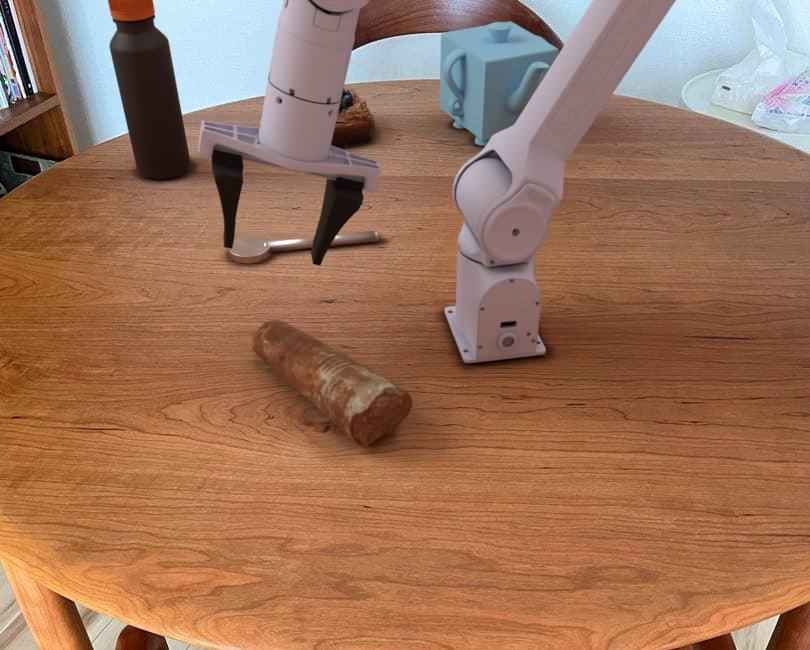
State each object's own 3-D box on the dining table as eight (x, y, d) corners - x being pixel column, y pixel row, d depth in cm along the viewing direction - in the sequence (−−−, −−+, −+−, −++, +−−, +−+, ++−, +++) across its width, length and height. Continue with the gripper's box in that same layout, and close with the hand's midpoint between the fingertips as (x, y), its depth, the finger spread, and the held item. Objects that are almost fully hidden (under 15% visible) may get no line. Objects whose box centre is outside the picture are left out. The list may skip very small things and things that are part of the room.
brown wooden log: (359, 464, 76) (355, 410, 72) (244, 360, 86) (235, 309, 82) (419, 434, 78) (418, 381, 74) (299, 337, 89) (294, 286, 85)
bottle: (175, 184, 113) (139, 4, 99) (127, 176, 115) (85, -1, 100) (200, 162, 117) (170, -13, 103) (154, 155, 119) (118, -18, 105)
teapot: (422, 123, 125) (423, 19, 116) (520, 103, 130) (528, 2, 121) (484, 174, 114) (490, 64, 105) (590, 150, 118) (604, 43, 109)
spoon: (383, 250, 101) (383, 240, 100) (230, 265, 99) (229, 255, 98) (377, 231, 104) (376, 221, 103) (228, 245, 102) (227, 235, 101)
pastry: (277, 123, 126) (272, 79, 122) (360, 112, 128) (358, 68, 124) (294, 155, 119) (289, 108, 114) (382, 143, 121) (381, 97, 117)
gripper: (386, 93, 75) (347, 245, 84) (208, 48, 70) (187, 214, 79) (400, 125, 70) (357, 283, 79) (210, 78, 65) (186, 252, 74)
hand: (272, 251), depth 78 cm, fingers open, 7 cm apart
